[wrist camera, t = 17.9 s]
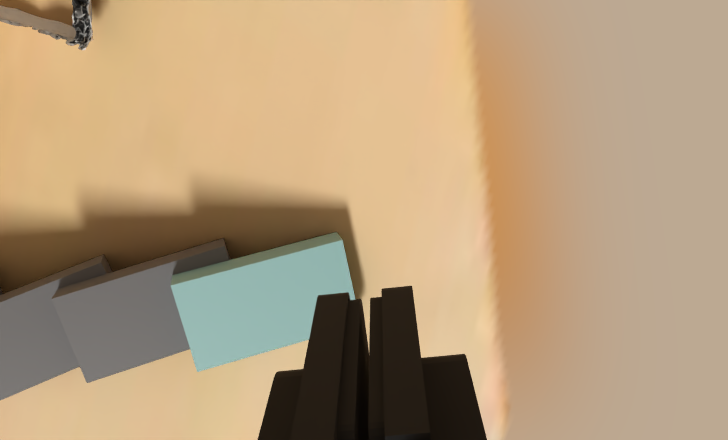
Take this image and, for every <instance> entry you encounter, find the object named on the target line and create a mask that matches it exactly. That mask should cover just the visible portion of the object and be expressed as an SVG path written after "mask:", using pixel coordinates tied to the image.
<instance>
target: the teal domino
mask: <svg viewBox="0 0 728 440" xmlns="http://www.w3.org/2000/svg"><path fill="white" fill-rule="evenodd" d="M171 289H172V292H173V295H174V298H175V302H176V305H177V308H178V311H179V314H180V318H181V321H182V324H183V327H184V330H185V334H186V337H187V340H188V343H189V347H190V350H191V353H192V356H193V359H194V363H195V366H196V369H197V372H199V371H202V370H206V369H209V368H213V367H216V366H219V365H223V364H226V363H230V362H233V361H237V360H240V359H244V358H247V357H250V356H254V355H257V354H261V353H264V352H268V351H271V350H275V349H278V348H281V347H285V346H288V345H292V344H295V343H299V342H302V341H305V340H309V337H310V332H311V327H312V322H313V317H314V311H315V306H316V301H317V297H318V295H326V294H336V293H346V292H349V295H350V300H356V299H355V295H354V290H353V286H352V281H351V277H350V272H349V267H348V263H347V258H346V254H345V249H344V244H343V240H342V239H341V237H340V236H339V234H338V233H337V232H334V233H331V234H327V235H323V236H319V237H315V238H312V239H308V240H304V241H300V242H296V243H293V244H289V245H285V246H281V247H277V248H274V249H270V250H266V251H262V252H258V253H255V254H251V255H247V256H243V257H239V258H236V259H232V260H228V261H224V262H220V263H217V264H213V265H209V266H205V267H201V268H197V269H194V270H190V271H186V272H182V273H178V274H175V275H172V280H171Z"/></svg>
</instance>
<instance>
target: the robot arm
mask: <svg viewBox="0 0 728 440" xmlns="http://www.w3.org/2000/svg"><path fill="white" fill-rule="evenodd" d="M258 440H487V438H486V434H485V430H484V426H483V422H482V418H481V414H480V410H479V406H478V402H477V398H476V394H475V390H474V386H473V382H472V378H471V374H470V370H469V366H468V362H467V358H466V355H465V354H459V355H448V356H438V357H427V358H421V354H420V346H419V338H418V330H417V322H416V314H415V306H414V298H413V290H412V286H405V287H395V288H385V289H382V297H377V298H370V352H369V350H368V342H367V335H366V328H365V320H364V313H363V306H362V300H361V299H357V300H350V295H349V292H346V293H336V294H326V295H318V297H317V301H316V306H315V311H314V317H313V322H312V327H311V332H310V337H309V343H308V348H307V353H306V358H305V364H304V369H300V370H289V371H279V372H277V373H276V374H275V377H274V380H273V384H272V388H271V391H270V395H269V399H268V403H267V406H266V410H265V414H264V418H263V422H262V425H261V429H260V433H259V437H258Z"/></svg>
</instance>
